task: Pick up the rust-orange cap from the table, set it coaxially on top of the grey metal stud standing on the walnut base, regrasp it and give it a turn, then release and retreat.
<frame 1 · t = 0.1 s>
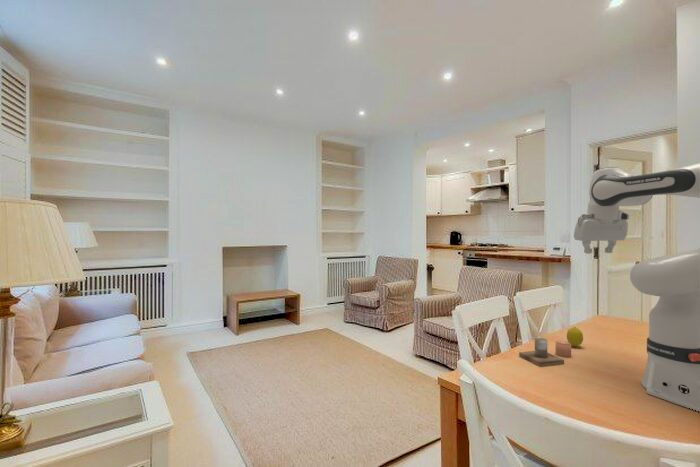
hand: (598, 253, 121), 39 cm above the table, tool pointing down, fingers open, 8 cm apart
stud base: (540, 360, 122), on the table
cap: (563, 355, 127), on the table
lemon: (574, 347, 136), on the table
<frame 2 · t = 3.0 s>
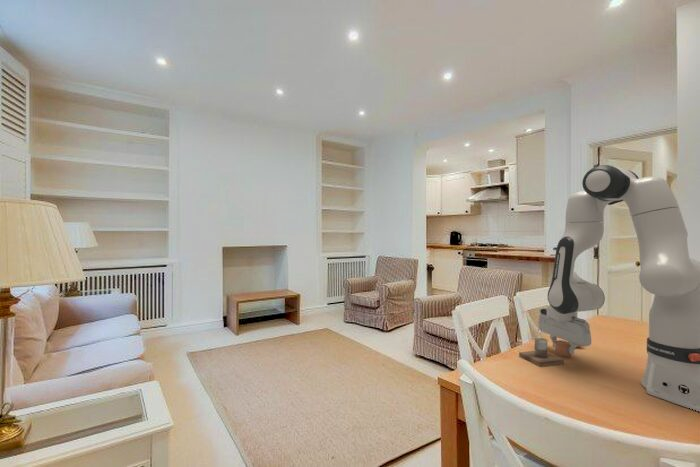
hand: (563, 350, 127), 2 cm above the table, tool pointing down, fingers closed on cap, 5 cm apart
cap: (563, 355, 127), on the table, touching gripper
everything else where it was.
when the fingers open (10 cm above the table, at t = 7.8 s): cap stays where it is, resting on stud base.
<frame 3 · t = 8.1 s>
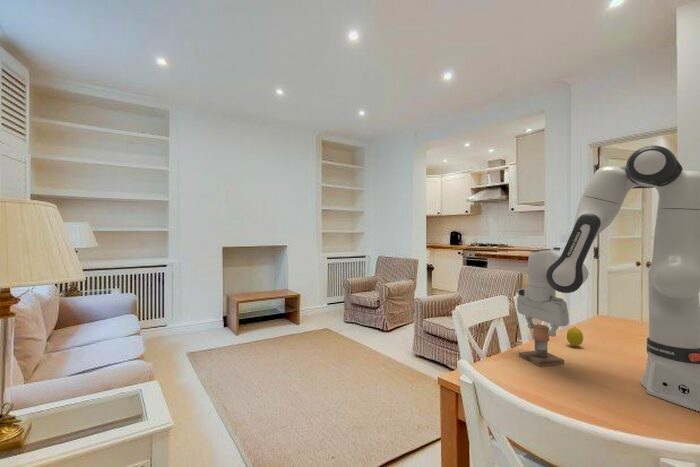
hand: (541, 332, 122), 10 cm above the table, tool pointing down, fingers open, 8 cm apart
cap: (541, 339, 122), point 7 cm above the table, touching stud base
everything else where it was.
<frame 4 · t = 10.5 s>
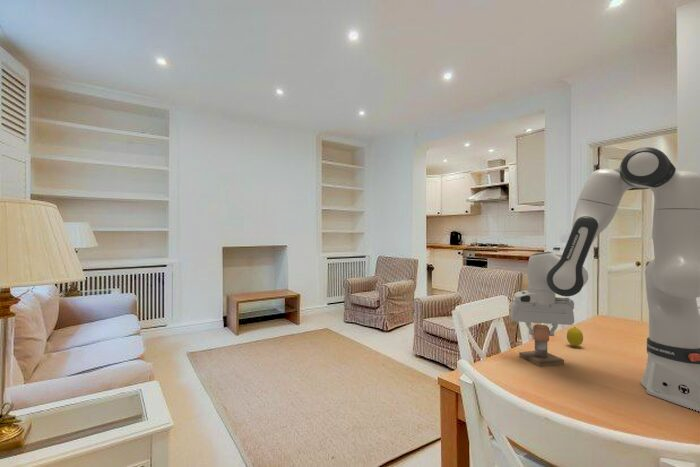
hand: (541, 334, 122), 9 cm above the table, tool pointing down, fingers closed on cap, 5 cm apart
cap: (541, 339, 122), point 7 cm above the table, touching gripper, stud base
everything else where it was.
when the fingers open (9 cm above the table, at t = 11.8 s): cap stays where it is, resting on stud base.
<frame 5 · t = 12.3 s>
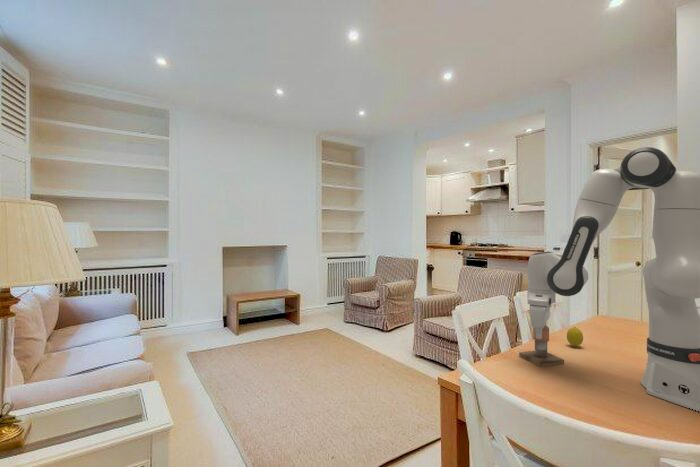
hand: (541, 334, 122), 9 cm above the table, tool pointing down, fingers open, 8 cm apart
cap: (541, 339, 122), point 7 cm above the table, touching stud base
everything else where it was.
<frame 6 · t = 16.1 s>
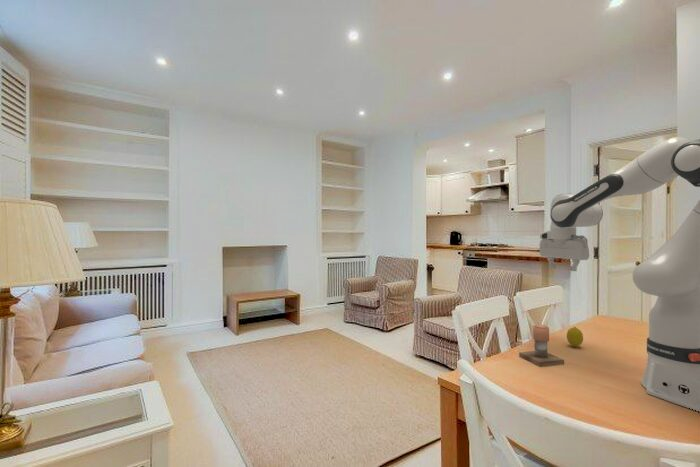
hand: (562, 269, 136), 31 cm above the table, tool pointing down, fingers open, 8 cm apart
nothing on the table moved.
at the end: cap 0.0 cm from the stud base (horizontally); cap point 7.5 cm above the table; cap tilted 0° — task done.
